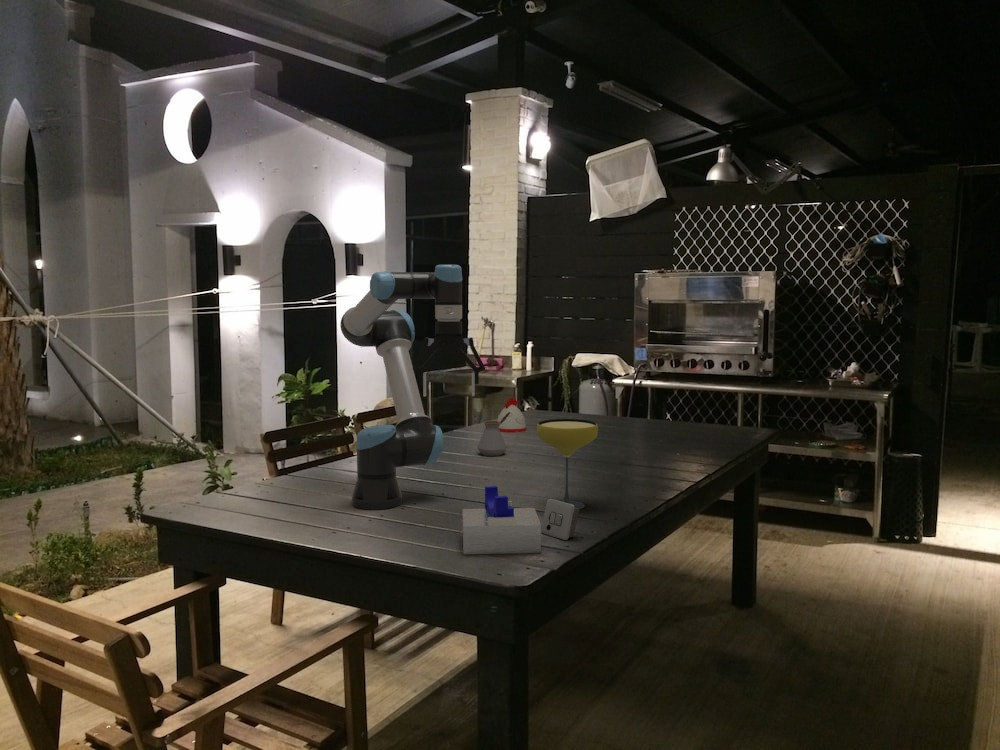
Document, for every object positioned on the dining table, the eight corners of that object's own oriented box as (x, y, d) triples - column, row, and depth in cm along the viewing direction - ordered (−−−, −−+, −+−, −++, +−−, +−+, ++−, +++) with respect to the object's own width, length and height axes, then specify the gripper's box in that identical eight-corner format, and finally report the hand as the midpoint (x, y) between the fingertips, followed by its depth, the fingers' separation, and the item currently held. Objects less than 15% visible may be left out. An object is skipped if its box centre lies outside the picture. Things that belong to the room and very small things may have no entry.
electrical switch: (540, 533, 216) (542, 498, 215) (553, 531, 219) (556, 497, 219) (565, 541, 209) (568, 506, 208) (579, 539, 212) (582, 504, 212)
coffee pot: (497, 458, 313) (497, 419, 311) (472, 455, 318) (472, 417, 317) (522, 449, 332) (522, 412, 330) (498, 446, 337) (498, 410, 335)
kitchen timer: (532, 430, 377) (532, 398, 376) (512, 433, 367) (512, 401, 366) (510, 426, 387) (510, 395, 385) (489, 430, 377) (489, 398, 375)
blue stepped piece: (513, 520, 201) (513, 496, 200) (496, 521, 200) (496, 497, 199) (501, 508, 212) (501, 485, 212) (485, 509, 211) (485, 486, 211)
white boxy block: (463, 554, 198) (463, 518, 197) (462, 534, 214) (462, 501, 213) (540, 552, 199) (541, 517, 199) (534, 533, 215) (534, 500, 214)
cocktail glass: (524, 506, 242) (524, 424, 240) (559, 495, 256) (560, 416, 254) (574, 517, 231) (575, 430, 228) (608, 504, 244) (609, 422, 242)
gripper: (403, 320, 222) (403, 397, 224) (493, 320, 224) (493, 397, 226) (404, 319, 230) (405, 394, 232) (492, 319, 231) (492, 393, 233)
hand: (449, 395), depth 229 cm, fingers open, 13 cm apart
